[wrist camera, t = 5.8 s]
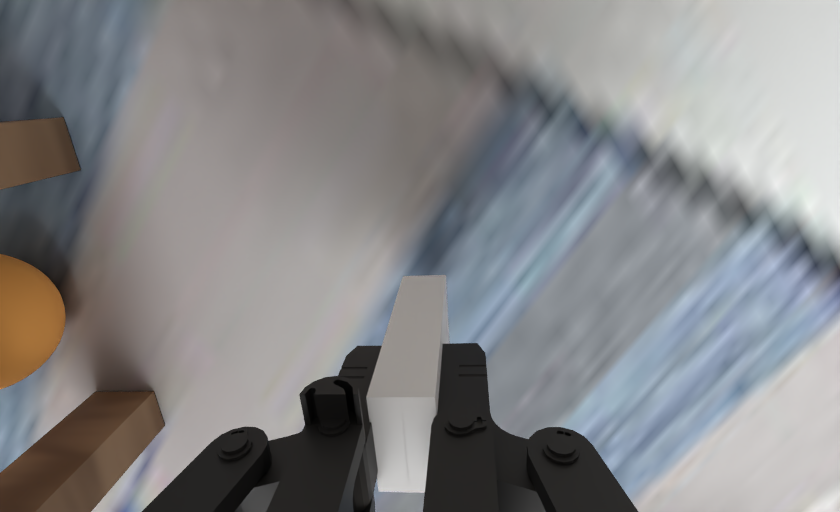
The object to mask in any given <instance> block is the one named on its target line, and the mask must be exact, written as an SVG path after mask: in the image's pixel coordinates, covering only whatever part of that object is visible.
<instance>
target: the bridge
mask: <svg viewBox="0 0 840 512" xmlns="http://www.w3.org/2000/svg"><path fill="white" fill-rule="evenodd" d="M79 170H81V169H80V166H79V163H78V160H77V157H76V154H75V151H74V148H73V145H72V142H71V139H70V136H69V133H68V130H67V127H66V124H65V121H64V118H63V117H60V118H46V119H32V120H18V121H4V122H0V190H1V189H5V188H9V187H13V186H18V185H22V184H26V183H30V182H34V181H38V180H42V179H46V178H51V177H55V176H59V175H63V174H67V173H71V172H75V171H79ZM164 426H165V424H164V421H163V418H162V415H161V412H160V409H159V406H158V403H157V400H156V397H155V394H154V392H95V393H93V394H92V395H91V396H90V397H89V398H88V399H86V400H85V401H84V402H83V403H82V404H80V405H79V406H78V407H77V408H76V409H75V410H73V411H72V412H71V413H70V414H69V415H68V416H66V417H65V418H64V419H63V420H62V421H61V422H59V423H58V424H57V425H56V426H55V427H54V428H52V429H51V430H50V431H49V432H48V433H47V434H45V435H44V436H43V437H42V438H41V439H40V440H38V441H37V442H36V443H35V444H34V445H33V446H31V447H30V448H29V449H28V450H27V451H26V452H24V453H23V454H22V455H21V456H20V457H18V458H17V459H16V460H15V461H14V462H13V463H11V464H10V465H9V466H8V467H7V468H6V469H4V470H3V471H2V472H1V473H0V512H91V511H92V510H93V509H94V508H95V506H96V505H97V504H98V503H99V502H100V501H101V499H102V498H103V497H104V496H105V495H106V494H107V492H108V491H109V490H110V489H111V488H112V487H113V485H114V484H115V483H116V482H117V481H118V480H119V478H120V477H121V476H122V475H123V474H124V473H125V471H126V470H127V469H128V468H129V467H130V466H131V464H132V463H133V462H134V461H135V460H136V459H137V457H138V456H139V455H140V454H141V453H142V452H143V450H144V449H145V448H146V447H147V446H148V445H149V443H150V442H151V441H152V440H153V439H154V438H155V436H156V435H157V434H158V433H159V432H160V431H161V429H162V428H163V427H164Z"/></svg>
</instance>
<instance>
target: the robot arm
mask: <svg viewBox="0 0 840 512" xmlns="http://www.w3.org/2000/svg"><path fill="white" fill-rule="evenodd" d="M299 395H300V400H301V405H302V410H303V415H304V420H305V426H304V429H303V431H302V432H300V433H298V434H294V435H291V436H288V437H283V438H279V439H275V440H271V441H268V438H267V436H266V434H265V433H264V431H263V430H261V429H258V428H256V427H242V428H237V429H233V430H231V431H228V432H226V433H224V434H222V435H220V436H219V437H218V438H216V439H215V440H214V441H213V442H211V443H210V444H209V445H208V446H207V447H206V448H205V449H204V450H203V451H202V452H201V453H200V454H199V455H198V456H197V457H196V458H195V459H194V460H193V461H192V462H191V463H190V464H189V465H188V466H187V467H186V468H185V469H184V470H183V471H182V472H181V473H180V474H179V475H178V476H177V477H176V478H175V479H174V480H173V481H172V482H171V483H170V484H169V485H168V486H167V487H166V488H165V489H164V490H163V491H162V492H161V493H160V494H159V495H158V496H157V497H156V498H155V499H154V500H153V501H152V502H151V503H150V504H149V505H148V506H147V507H146V508H145V509H144V510H143V511H142V512H375V501H374V494H373V492H374V487H375V483H376V478H377V481H378V489H379V492H419V493H425V497H424V507H423V512H638V511H637V509H636V508H635V506H634V505H633V503H632V502H631V500H630V499H629V498H628V496H627V495H626V493H625V492H624V490H623V489H622V487H621V486H620V484H619V483H618V481H617V480H616V479H615V477H614V476H613V474H612V473H611V471H610V470H609V468H608V467H607V465H606V464H605V463H604V461H603V460H602V458H601V457H600V455H599V454H598V452H597V451H596V449H595V448H594V447H593V445H592V444H591V443H590V442H589V441H588V440H587V439H586V438H585V437H584V436H582V435H581V434H579V433H577V432H575V431H573V430H570V429H565V428H561V427H547V428H544V429H541V430H538V431H536V432H535V433H534V434H533V435H532V436H531V437H530V438H529V439H525V438H521V437H518V436H515V435H512V434H509V433H507V432H506V431H504V430H502V429H501V428H500V427H498V426H497V425H496V424H495V422H494V421H493V419H492V418H491V414H490V406H489V394H488V381H487V368H486V356H485V352H484V351H483V350H482V349H481V347H480V346H479V345H478V344H477V343H461V344H449V325H448V306H447V287H446V275H428V276H403V278H402V281H401V284H400V288H399V291H398V294H397V298H396V301H395V304H394V307H393V311H392V314H391V317H390V321H389V324H388V327H387V330H386V334H385V337H384V340H383V344H382V346H357V347H356V348H355V349H353V350H352V351H351V352H350V353H349V354H348V355H347V356H346V358H345V360H344V363H343V365H342V369H341V370H340V372H339V375H338V376H333V377H325V378H322V379H320V380H317V381H314V382H313V383H311V384H310V385H308V386H306V387H305V388H304V389H303V391H302V392H301V393H300V394H299Z"/></svg>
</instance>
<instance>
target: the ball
mask: <svg viewBox="0 0 840 512" xmlns="http://www.w3.org/2000/svg"><path fill="white" fill-rule="evenodd" d="M65 318H66V315H65V306H64V303H63V300H62V297H61V295H60V293H59V291H58V289H57V288H56V286H55V285H54V284H53V282H52V281H51V280H50V279H49V278H48V277H47V276H46V275H45V274H44V273H42V272H41V271H40V270H38V269H37V268H35V267H34V266H32V265H30V264H28V263H26V262H24V261H22V260H19V259H16V258H14V257H11V256H7V255H2V254H0V389H3V388H5V387H8V386H11V385H13V384H15V383H17V382H19V381H21V380H23V379H24V378H26V377H27V376H29V375H30V374H32V373H33V372H34V371H36V370H37V369H38V368H39V367H41V366H42V365H43V364H44V363H45V362H46V361H47V360H48V359H49V357H50V356H51V355H52V353H53V352H54V351H55V349H56V347H57V346H58V344H59V342H60V340H61V337H62V335H63V331H64V327H65Z"/></svg>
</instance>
